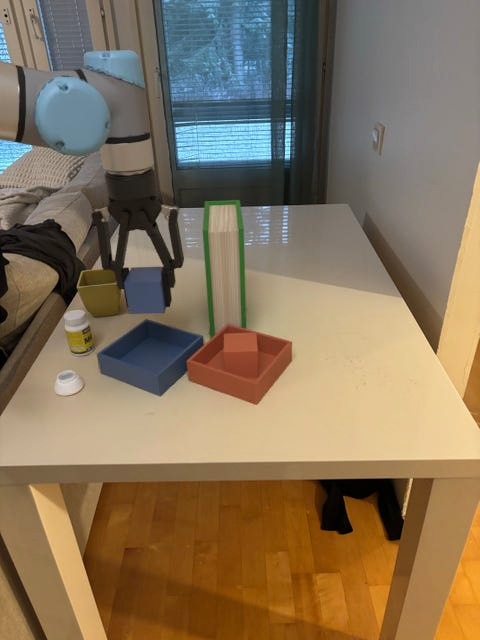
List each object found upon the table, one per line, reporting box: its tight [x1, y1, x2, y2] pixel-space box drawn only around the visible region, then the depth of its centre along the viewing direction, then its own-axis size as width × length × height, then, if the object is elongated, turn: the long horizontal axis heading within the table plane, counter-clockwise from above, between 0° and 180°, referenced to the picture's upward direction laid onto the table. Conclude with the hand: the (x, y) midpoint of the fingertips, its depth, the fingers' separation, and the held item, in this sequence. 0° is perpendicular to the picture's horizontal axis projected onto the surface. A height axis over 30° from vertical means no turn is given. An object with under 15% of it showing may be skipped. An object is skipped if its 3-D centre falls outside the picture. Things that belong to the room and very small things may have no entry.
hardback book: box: [202, 199, 247, 340], centre depth 97 cm, size 18×7×24 cm, turn 3°
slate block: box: [124, 266, 167, 315], centre depth 80 cm, size 6×6×6 cm
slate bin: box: [96, 318, 205, 397], centre depth 89 cm, size 14×14×4 cm
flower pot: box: [76, 268, 123, 318], centre depth 106 cm, size 9×9×9 cm
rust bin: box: [187, 324, 293, 406], centre depth 86 cm, size 14×14×4 cm
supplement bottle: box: [63, 309, 95, 357], centre depth 93 cm, size 5×5×8 cm
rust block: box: [224, 333, 258, 378], centre depth 86 cm, size 6×6×6 cm
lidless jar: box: [53, 369, 85, 397], centre depth 84 cm, size 5×3×5 cm
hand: (149, 303), depth 82 cm, fingers closed on slate block, 6 cm apart
